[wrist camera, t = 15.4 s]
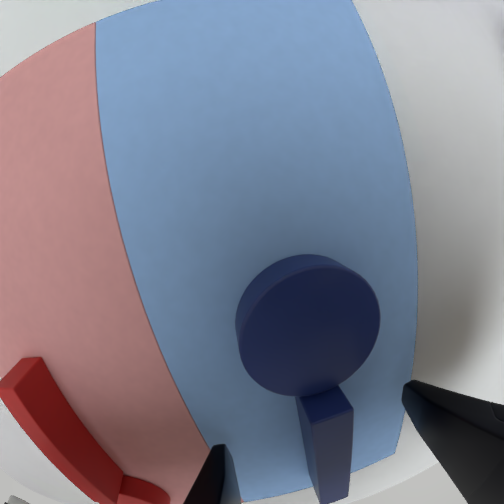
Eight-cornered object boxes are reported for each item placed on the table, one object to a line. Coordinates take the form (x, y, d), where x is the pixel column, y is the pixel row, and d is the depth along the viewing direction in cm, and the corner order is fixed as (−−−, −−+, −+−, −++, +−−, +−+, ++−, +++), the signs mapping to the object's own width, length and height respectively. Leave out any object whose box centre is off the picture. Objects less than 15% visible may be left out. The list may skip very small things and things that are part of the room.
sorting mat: (391, 448, 10) (394, 453, 10) (108, 498, 9) (107, 502, 8) (342, -3, 6) (347, -9, 5) (-51, 130, 4) (-56, 129, 4)
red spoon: (181, 506, 9) (181, 535, 7) (122, 503, 9) (118, 529, 7) (66, 353, 7) (37, 390, 5) (4, 358, 6) (-23, 385, 4)
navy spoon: (219, 273, 7) (221, 303, 5) (354, 239, 7) (398, 254, 5) (282, 481, 9) (292, 514, 7) (358, 456, 9) (374, 485, 7)
